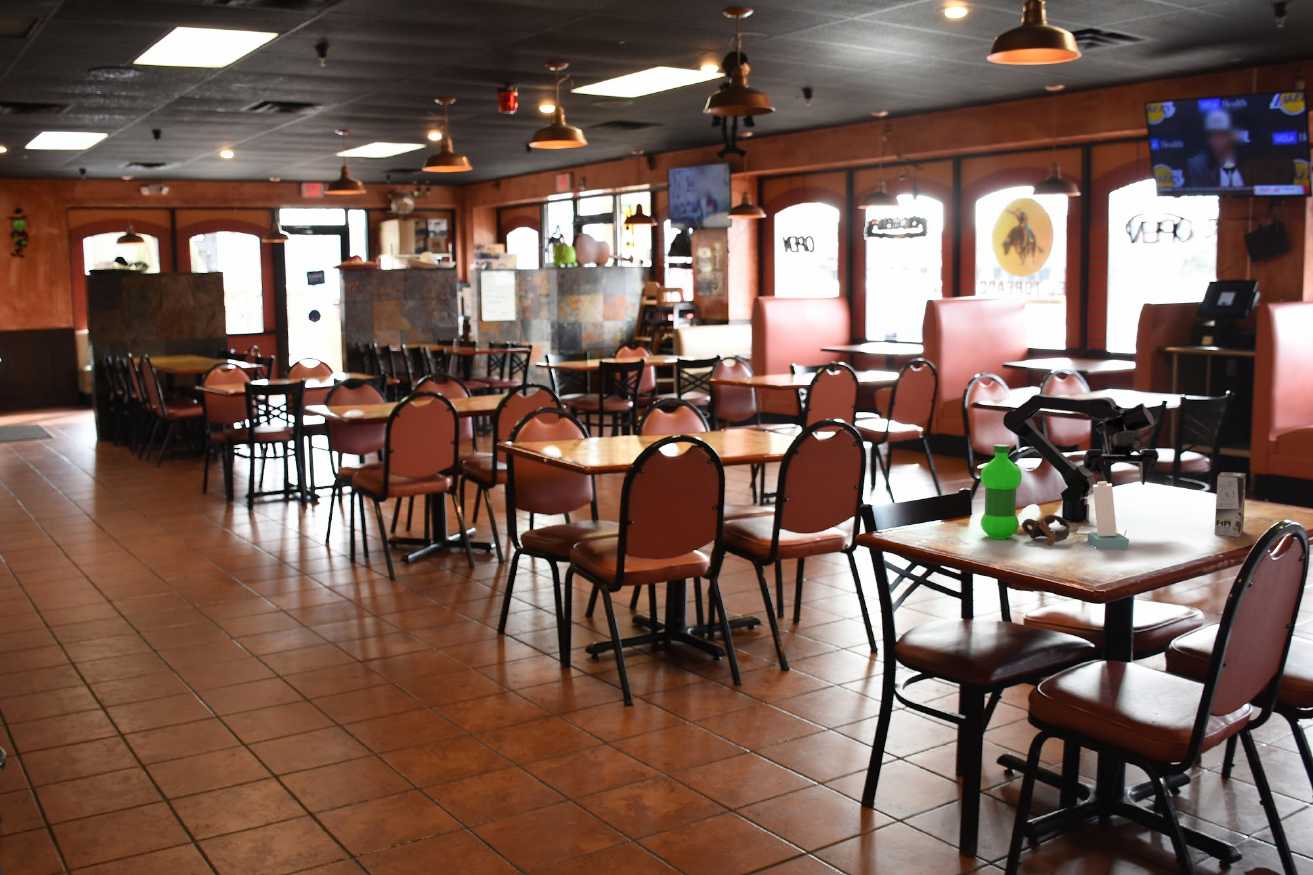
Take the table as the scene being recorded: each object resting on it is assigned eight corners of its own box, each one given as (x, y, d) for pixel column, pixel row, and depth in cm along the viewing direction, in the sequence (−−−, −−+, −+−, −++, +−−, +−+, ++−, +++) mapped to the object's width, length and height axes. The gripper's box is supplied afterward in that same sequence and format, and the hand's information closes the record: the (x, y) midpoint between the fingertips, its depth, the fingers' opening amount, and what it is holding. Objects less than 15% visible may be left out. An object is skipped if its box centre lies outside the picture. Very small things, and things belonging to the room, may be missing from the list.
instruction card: (1076, 533, 323) (1076, 532, 323) (1079, 527, 331) (1080, 525, 331) (1123, 537, 318) (1123, 535, 318) (1126, 530, 326) (1126, 529, 326)
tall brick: (1098, 533, 311) (1093, 481, 310) (1116, 532, 309) (1111, 480, 308) (1097, 536, 306) (1092, 483, 306) (1116, 535, 305) (1111, 482, 304)
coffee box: (1240, 537, 316) (1243, 477, 314) (1213, 534, 319) (1216, 475, 317) (1244, 531, 323) (1247, 472, 321) (1218, 528, 327) (1221, 471, 325)
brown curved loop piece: (1061, 539, 318) (1072, 516, 313) (1062, 561, 311) (1073, 538, 306) (1017, 527, 320) (1027, 504, 315) (1016, 549, 312) (1027, 525, 307)
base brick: (1087, 544, 312) (1087, 532, 312) (1118, 544, 312) (1118, 533, 311) (1096, 550, 304) (1096, 539, 304) (1128, 550, 304) (1128, 539, 303)
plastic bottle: (1019, 542, 313) (1021, 448, 310) (978, 540, 316) (980, 447, 313) (1020, 534, 322) (1022, 443, 319) (980, 532, 326) (982, 442, 323)
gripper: (1087, 420, 325) (1096, 466, 315) (1158, 420, 323) (1169, 466, 313) (1079, 445, 333) (1088, 490, 324) (1148, 444, 331) (1159, 490, 322)
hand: (1126, 483), depth 321 cm, fingers open, 9 cm apart
